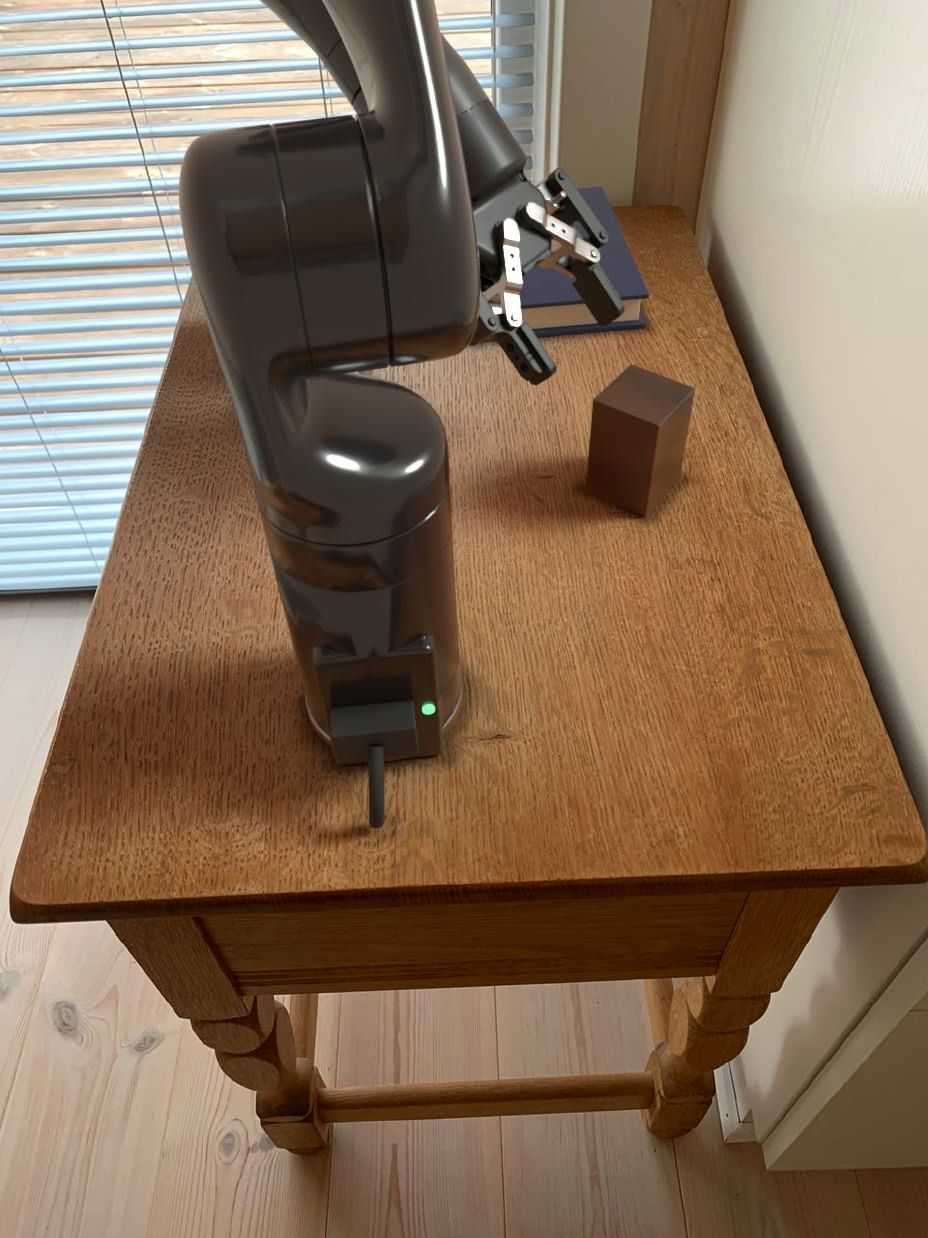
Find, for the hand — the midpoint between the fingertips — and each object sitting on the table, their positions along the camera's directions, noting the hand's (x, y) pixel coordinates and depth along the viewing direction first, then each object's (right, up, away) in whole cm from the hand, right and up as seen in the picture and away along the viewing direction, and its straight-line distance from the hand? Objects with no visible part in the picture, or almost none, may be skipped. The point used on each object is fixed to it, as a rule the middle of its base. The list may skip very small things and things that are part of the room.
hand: (581, 348), depth 67 cm
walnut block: (+4, -9, +5) cm, 11 cm away
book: (-1, +14, +25) cm, 28 cm away
